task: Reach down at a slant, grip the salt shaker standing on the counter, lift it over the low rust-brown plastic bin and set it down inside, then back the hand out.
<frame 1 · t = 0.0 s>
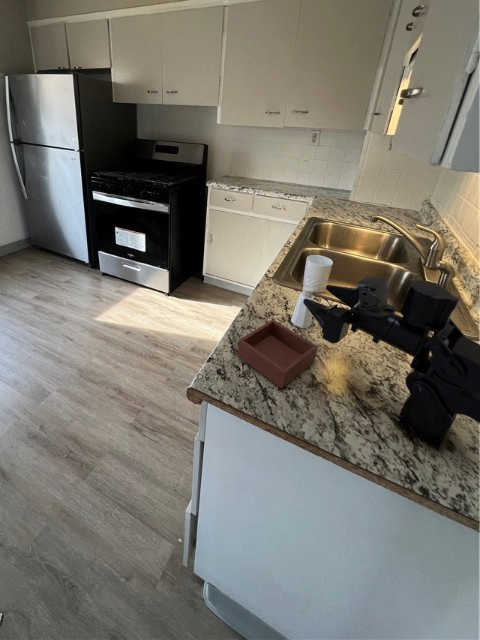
hand: (315, 293, 68), 17 cm above the counter, tool horizontal, fingers open, 9 cm apart
salt shaker: (300, 322, 86), on the counter
bin: (275, 358, 73), on the counter
white cup: (313, 287, 103), on the counter
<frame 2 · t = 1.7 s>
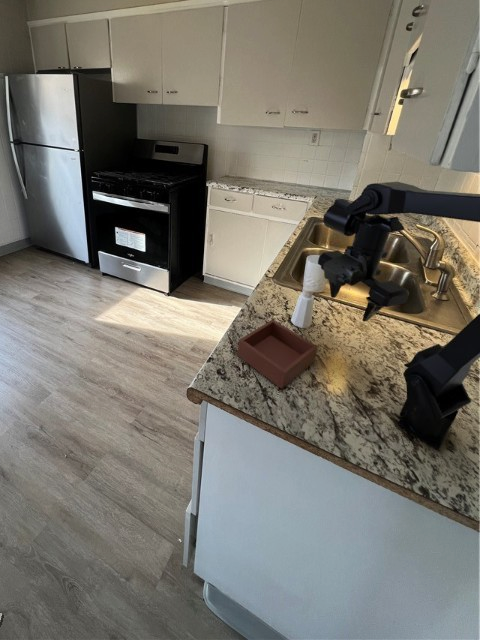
hand: (348, 308, 70), 13 cm above the counter, tool pointing down, fingers open, 9 cm apart
nothing on the counter moved.
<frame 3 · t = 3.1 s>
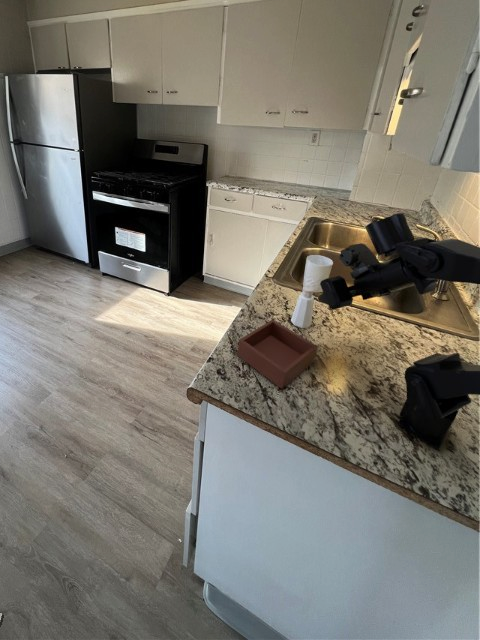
hand: (334, 295, 73), 13 cm above the counter, tool tilted 45°, fingers open, 9 cm apart
nothing on the counter moved.
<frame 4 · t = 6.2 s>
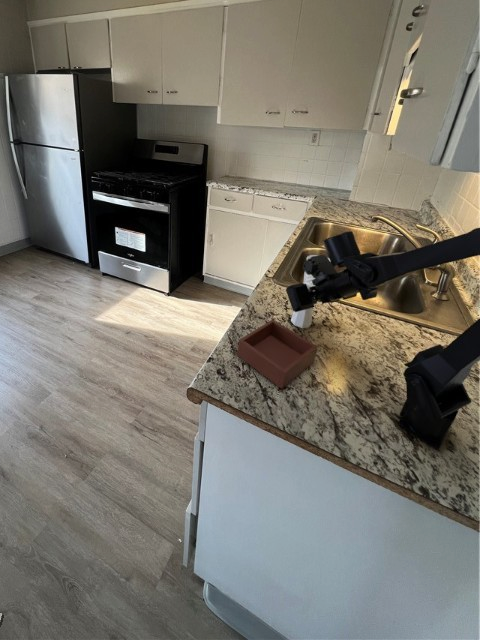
hand: (301, 299, 84), 7 cm above the counter, tool tilted 45°, fingers closed on salt shaker, 4 cm apart
salt shaker: (300, 322, 86), on the counter, touching gripper
everything else where it was.
when the fingers open (7 cm above the counter, at t = 13.4 s): salt shaker stays where it is, resting on bin.
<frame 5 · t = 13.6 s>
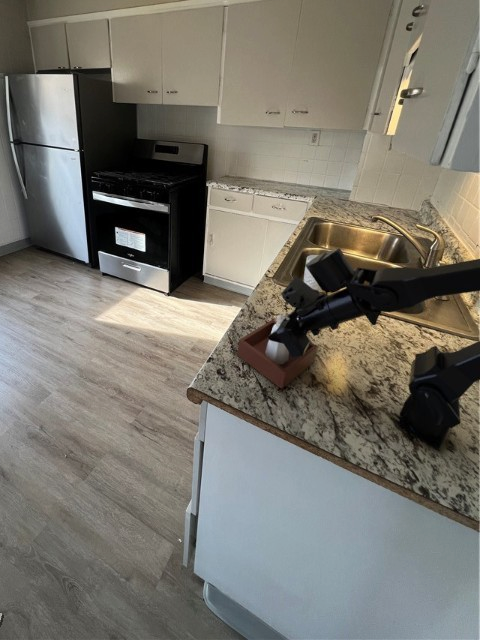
hand: (274, 331, 71), 7 cm above the counter, tool tilted 45°, fingers open, 5 cm apart
salt shaker: (276, 357, 73), resting on bin
everything else where it was.
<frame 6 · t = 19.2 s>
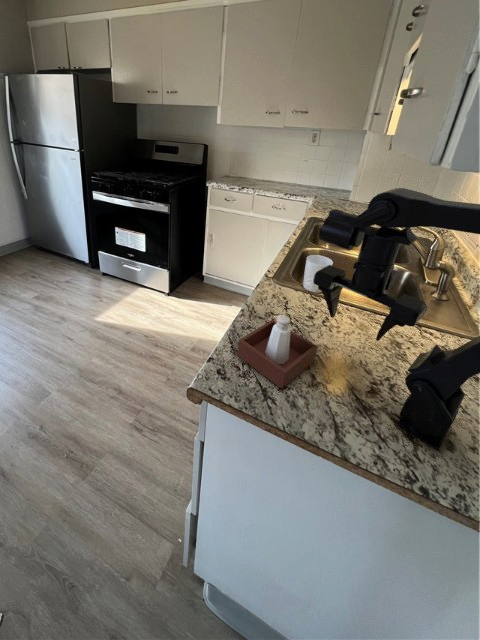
hand: (354, 327, 63), 13 cm above the counter, tool pointing down, fingers open, 9 cm apart
nothing on the counter moved.
at the end: salt shaker inside the target area in the bin (0.2 cm from its centre), point 0.4 cm above the bin's base; salt shaker tilted 0°; the gripper is holding nothing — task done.
